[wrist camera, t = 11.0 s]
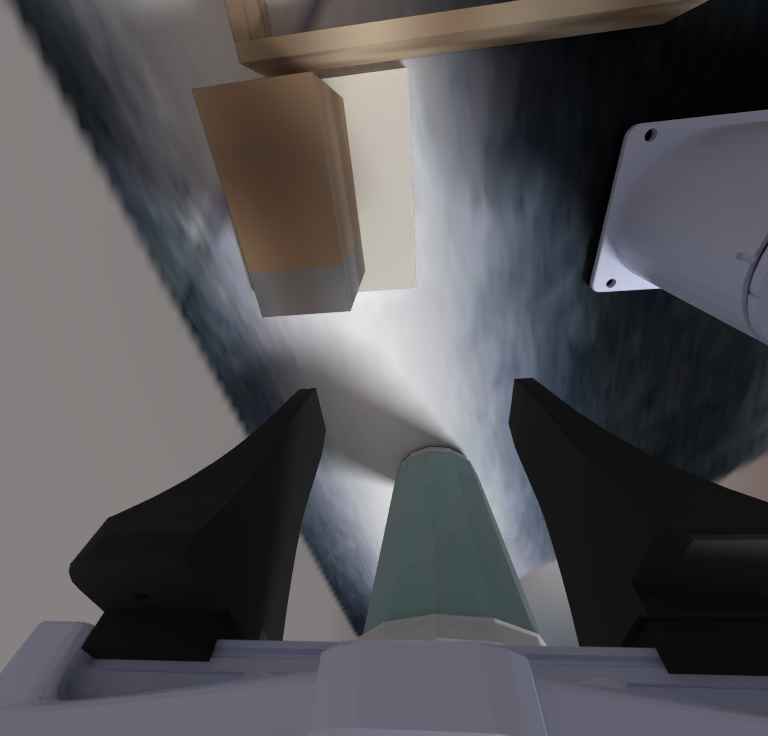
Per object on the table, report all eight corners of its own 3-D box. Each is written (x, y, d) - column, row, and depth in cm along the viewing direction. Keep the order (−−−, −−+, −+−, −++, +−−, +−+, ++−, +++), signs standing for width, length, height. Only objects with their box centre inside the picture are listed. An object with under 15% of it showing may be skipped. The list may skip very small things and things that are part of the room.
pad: (408, 70, 15) (408, 67, 15) (417, 284, 21) (417, 287, 20) (201, 97, 16) (195, 95, 16) (260, 295, 22) (256, 298, 21)
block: (343, 98, 16) (311, 71, 11) (365, 271, 20) (350, 311, 15) (260, 109, 16) (191, 88, 11) (299, 276, 20) (262, 317, 15)
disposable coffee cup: (494, 418, 26) (576, 672, 13) (502, 506, 31) (565, 745, 19) (361, 436, 28) (321, 673, 15) (390, 516, 33) (378, 739, 21)
